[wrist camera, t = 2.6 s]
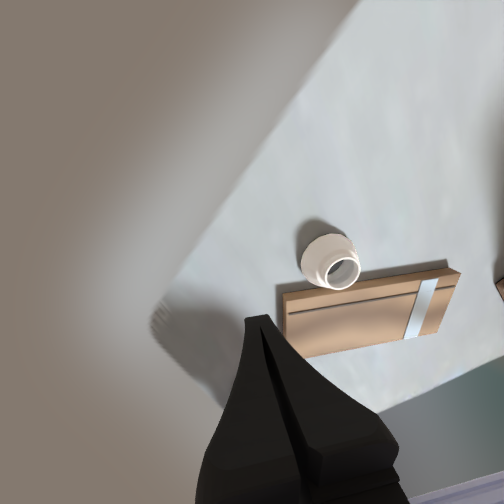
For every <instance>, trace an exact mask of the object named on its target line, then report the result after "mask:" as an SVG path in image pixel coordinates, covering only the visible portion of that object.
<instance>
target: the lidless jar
mask: <svg viewBox="0 0 504 504" xmlns="http://www.w3.org/2000/svg"><path fill="white" fill-rule="evenodd" d="M340 260H344V261H343V263H342V265H341V266H340V267H339V268H338V270H336V271H335V272H333V273H332V274H329V275H327V274H328V271H329V270H330V268H331V267H332V266H333V265H334V264H335V263H337V262H338V261H340ZM301 269H302V273H303V275H304V276H305V277H306V279H307V280H308V281H309V282H311V283H313V284H315V285H317V286H321V287H325V288H331V289H334V290H342V289H345V288H347V287H349V286H351V285H352V284H353V283H354V282H355V281H356V280H357V278H358V277H359V274H360V270H361V268H360V264H359V258H358V255H357V251H356V248H355V246H354V245H353V243H352V241H351V240H350V239H348V238H346V237H345V236H343V235H341V234H331V233H330V234H327V235H324V236H320V237H318V238H317V239H316V240H314V241H313V242H312V243H310V244H309V246H308V247H307V249H306V250H305V251H304V253H303V256H302V260H301Z"/></svg>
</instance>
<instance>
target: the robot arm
mask: <svg viewBox="0 0 504 504" xmlns="http://www.w3.org/2000/svg"><path fill="white" fill-rule="evenodd" d="M244 321H245V335H244V343H243V349H242V354H241V359H240V363H239V367H238V371H237V375H236V378H235V381H234V384H233V388H232V390H231V393H230V396H229V399H228V402H227V404H226V407H225V409H224V412H223V414H222V417H221V419H220V421H219V424H218V426H217V428H216V431H215V433H214V435H213V437H212V439H211V441H210V443H209V445H208V447H207V449H206V451H205V454H204V458H203V462H202V466H201V469H200V474H199V478H198V483H197V489H196V498H195V504H504V471H501V472H498V473H495V474H491V475H487V476H484V477H481V478H477V479H474V480H470V481H467V482H463V483H460V484H457V485H453V486H450V487H447V488H443V489H440V490H436V491H433V492H429V493H426V494H423V495H419V496H416V497H412V498H409V499H407V497H406V495H405V493H404V492H403V490H402V488H401V486H400V484H399V483H398V482H399V481H400V479H399V476H398V474H397V473H396V471H395V469H394V467H393V463H394V461H395V459H396V457H397V455H398V451H399V446H398V443H397V442H396V440H395V438H394V437H393V435H392V434H391V432H390V431H389V429H388V428H387V427H386V425H385V424H384V423H383V421H382V420H381V419H380V417H379V416H378V415H377V414H376V413H374V412H373V411H371V410H369V409H368V408H366V407H365V406H363V405H362V404H360V403H359V402H357V401H356V400H354V399H353V398H351V397H350V396H348V395H347V394H346V393H344V392H343V391H341V390H340V389H339V388H338V387H336V386H335V385H334V384H332V383H331V382H330V381H329V380H327V379H326V378H325V377H324V376H322V375H321V374H320V373H319V372H318V371H317V370H315V369H314V368H313V367H312V366H311V365H310V364H309V363H308V362H307V361H306V360H305V359H304V358H303V357H302V356H301V355H300V354H299V353H298V352H297V351H296V350H295V349H294V348H293V347H292V346H291V344H290V343H289V342H288V341H287V340H286V339H285V337H284V336H283V335H282V334H281V332H280V331H279V330H278V328H277V327H276V326H275V324H274V323H273V321H272V320H271V318H270V316H269V315H268V314H265V315H259V316H253V317H247V318H245V319H244Z"/></svg>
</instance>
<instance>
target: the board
mask: <svg viewBox="0 0 504 504" xmlns="http://www.w3.org/2000/svg"><path fill="white" fill-rule="evenodd" d="M460 275H461V273H459V272H457V271H455V270H453V269H451V268H443V269H437V270H430V271H424V272H417V273H411V274H405V275H398V276H392V277H386V278H379V279H373V280H366V281H360V282H354V283H353V284H352V285H351V286H349V287H347V288H345V289H342V290H334V289H331V288H325V287H322V288H315V289H309V290H303V291H296V292H290V293H283V336H284V337H285V339H286V340H287V341H288V342H289V343H290V344H291V346H292V347H293V348H294V349H295V350H296V351H297V352H298V353H299V354H300V355H301V356H302V357H303V358H304V359H305V358H310V357H315V356H320V355H325V354H330V353H335V352H340V351H346V350H351V349H356V348H361V347H366V346H371V345H376V344H381V343H386V342H392V341H397V340H402V339H408V338H413V337H418V336H422V335H427V334H433V333H437V331H438V328H439V326H440V324H441V321H442V319H443V316H444V314H445V311H446V309H447V306H448V304H449V302H450V299H451V297H452V294H453V292H454V289H455V287H456V284H457V282H458V280H459V277H460Z"/></svg>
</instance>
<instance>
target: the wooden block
mask: <svg viewBox="0 0 504 504" xmlns="http://www.w3.org/2000/svg"><path fill="white" fill-rule="evenodd" d="M496 286H497V288H498V290H499V292H500V294H501V296H502V298H503V300H504V278H503V279H502V280H501V281H499V282H498V283H497V284H496Z"/></svg>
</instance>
